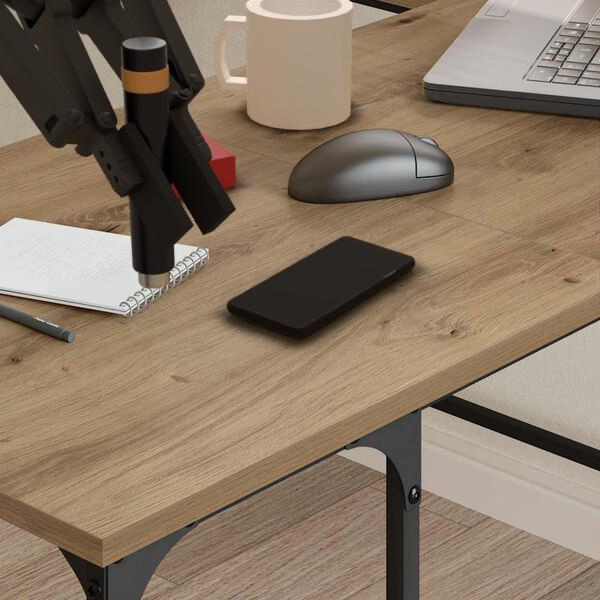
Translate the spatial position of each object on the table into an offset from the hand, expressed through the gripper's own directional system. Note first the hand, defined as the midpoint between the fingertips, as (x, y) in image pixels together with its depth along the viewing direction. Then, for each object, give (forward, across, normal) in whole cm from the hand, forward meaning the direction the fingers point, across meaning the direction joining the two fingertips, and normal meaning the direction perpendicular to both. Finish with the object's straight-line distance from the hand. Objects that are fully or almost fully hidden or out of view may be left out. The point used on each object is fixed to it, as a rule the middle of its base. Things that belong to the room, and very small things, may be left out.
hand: (198, 229), depth 76 cm
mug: (-18, -48, -40) cm, 65 cm away
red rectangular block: (-14, -29, -36) cm, 48 cm away
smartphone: (+3, -22, -18) cm, 29 cm away
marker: (0, 0, -6) cm, 6 cm away
